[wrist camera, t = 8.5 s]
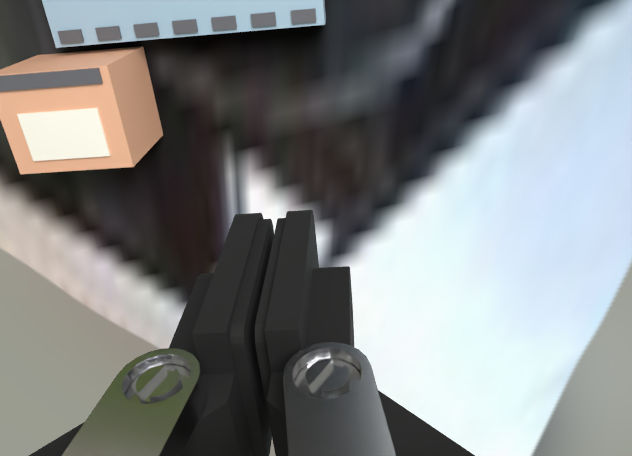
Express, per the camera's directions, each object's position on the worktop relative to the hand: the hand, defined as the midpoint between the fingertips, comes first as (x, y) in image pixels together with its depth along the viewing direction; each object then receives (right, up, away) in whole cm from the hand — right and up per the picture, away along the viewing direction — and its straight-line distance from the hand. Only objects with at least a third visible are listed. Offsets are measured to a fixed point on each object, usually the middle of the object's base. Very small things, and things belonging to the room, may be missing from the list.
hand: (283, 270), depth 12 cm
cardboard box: (-11, +8, +19) cm, 24 cm away
